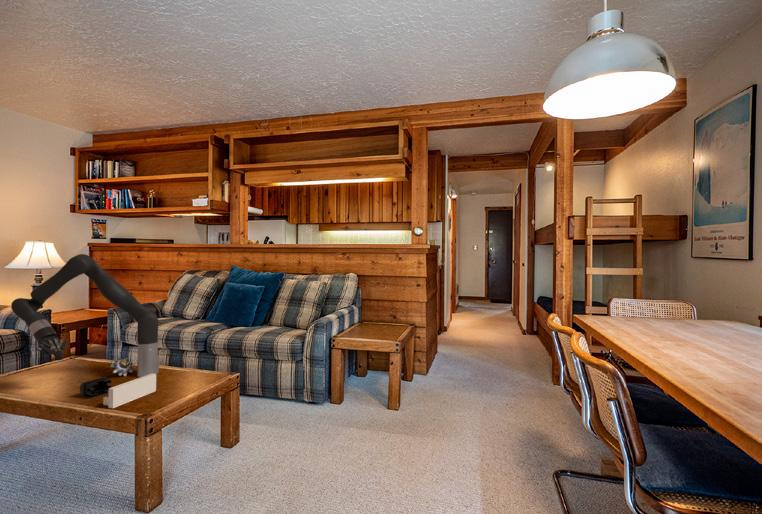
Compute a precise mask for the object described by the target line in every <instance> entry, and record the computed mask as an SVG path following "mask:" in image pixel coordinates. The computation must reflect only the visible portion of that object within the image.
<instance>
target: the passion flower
mask: <svg viewBox="0 0 762 514" xmlns="http://www.w3.org/2000/svg"><path fill="white" fill-rule="evenodd" d="M133 361H134V360H130V359H129V358H128V357H125V358H123V357H121V356H117V359H116V360H115V361H110V363H108V366H109V367H110V368H112V369H113V370H112V372H111V373H112V374H117V375H118V376H119V377H122V376H123V377H127V374H128V373H131V374H132V373H133V372H134V368H133V367H135V366H136V364H134V363H133Z"/></svg>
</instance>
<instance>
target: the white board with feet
mask: <svg viewBox="0 0 762 514" xmlns="http://www.w3.org/2000/svg"><path fill="white" fill-rule="evenodd" d="M156 391H157V374H149V375H146V376H143V377H138V378H135V379H132V380H130V381H127V382H124V383H121V384H118V385H115V386H111V388H109V393H108V396H105V397H104V396H103V403H102V404H103V406H107V407H108V409H114V408H117V407H119V406H122V405H125V404H128V403H130V402H132V401H134V400H137V399H140V398H141V397H146V396H147V395H150V394H152V393H155V392H156Z"/></svg>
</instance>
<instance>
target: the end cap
mask: <svg viewBox="0 0 762 514" xmlns="http://www.w3.org/2000/svg"><path fill="white" fill-rule="evenodd" d="M112 383H113V381H112V379H111V378H110V379H109V378H108V376H103V377H99V378H96V379H92V380H87V381H84V382H82V383H81V384H80V385H79V393H80V394H81V396H82V397H83V398H85V399H93V398H98V397H100V396H104V395H107V394H109V388H112V385H109V384H112Z"/></svg>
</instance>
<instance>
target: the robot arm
mask: <svg viewBox="0 0 762 514" xmlns="http://www.w3.org/2000/svg"><path fill="white" fill-rule="evenodd" d="M81 275H86V277H88V278H89V279H90V280H91V281H92V282H93V283H94V284H95V286H96V288H97V290H98V291H99V292H100V294H101V296H103V297H104V298H105V299H106V300H107V301H109V302H110V304H112V305H114V306H116V307H117V308H118V309H120V310H122V311H124V312H125V313H126V314H129V316H131V317H132V318H133V319H134V320H135V321H136V322H137V355H136V356H137V362H136V364H137V365H136V371H137V372H136V374H137V375H136V376H137V377H138V378H141V377H143V376H146V375H149V374H156V375H157V374H159V373H160V355H159V354H158V353H159V352H158V344H159V341H158V340H159V339H158V338H159V319H158V316H157V314H156V313H154V312H152V311H151V310H149V309H148V308H147V307H146V306H144V305H143V304H141V302H139V301H138V299H136V297H135V296H133V294H132V293H131V292H129V290H127V289H126V288H125V287H124V286H123V285H122V284H120V282H118V281H117V280H116V279H115V278H114V277H112V276H111V275H110V274H109V273H108V272H106V271H105V270H104V268H102V267H101V266H100V265H99V264H98V262H96V260H94V258H93V257H91V256H90V255H88V254H86V253H80V254H77V255H74V256H73V257H70V259H69V260H68V261H66V263H65V264H64V265H63V266H62V267H61V268H60V269H59V270H58V271H56V273H54V274H53V275H52V276H51V277H49V278H48V279H46V280H45V281H43V282H42V283H40V284H39V285H38V286H37V287H35V288H34V289H33V290H31V292H30V297H31V298H23V297H18V298H16V299H14V300H13V301H12V302H11V305H10V308H11V310H12V312H13V313H14V315H16V316H17V317H19V319H20V320H21V321H23V322H24V324H25V325H26V327H28V329H29V331H30V333H31V335H32V336H33V338H34V339H35V340H36V342H37V344H38V345H37V347H36V348H35V350H36V351H39V352H41V353H44V354H46V355H49V356H50V355H53V356H54V358H55V359H56V360H58V361H62V360H64V358H65V355H64V353H63V352H64V350H65V348H66V345H67V342H68V341H67V340H66V339H64V340H62V339H60V337H58V335H57V332H56V331H55V329H54V328H53V327H52V324H50V322H49V321H48V320H47V319H46V317H45V316H44V314H43V313H41V312H40V311H39V310H40V309H41V308H42V306H43V305H44V303H45V302H46V301H47V300H48V299H49V298H51V297H52V296H54V295H55V294H56V293H57V292H58V291H60V290H61V289H62V288H63V287H64V286H65V285H66V284H67V283H69V282H70V281H73V279H75V278H77V277H79V276H81Z"/></svg>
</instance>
